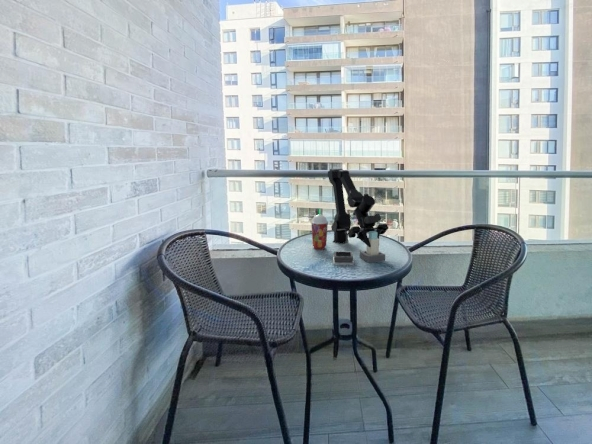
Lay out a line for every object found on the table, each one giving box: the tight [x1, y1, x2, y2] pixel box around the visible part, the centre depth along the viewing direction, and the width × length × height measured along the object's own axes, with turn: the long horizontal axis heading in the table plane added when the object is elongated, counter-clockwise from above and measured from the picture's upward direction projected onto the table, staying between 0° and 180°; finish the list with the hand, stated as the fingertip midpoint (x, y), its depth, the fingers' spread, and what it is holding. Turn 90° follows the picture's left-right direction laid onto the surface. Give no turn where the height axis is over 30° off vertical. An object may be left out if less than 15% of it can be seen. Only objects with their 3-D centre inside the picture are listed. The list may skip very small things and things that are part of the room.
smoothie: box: [310, 208, 329, 250], centre depth 205 cm, size 8×8×20 cm
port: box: [332, 251, 355, 266], centre depth 185 cm, size 9×9×4 cm
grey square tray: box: [359, 250, 386, 264], centre depth 188 cm, size 8×8×3 cm
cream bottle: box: [366, 231, 380, 256], centre depth 187 cm, size 4×4×13 cm
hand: (374, 246), depth 185 cm, fingers closed on cream bottle, 4 cm apart
